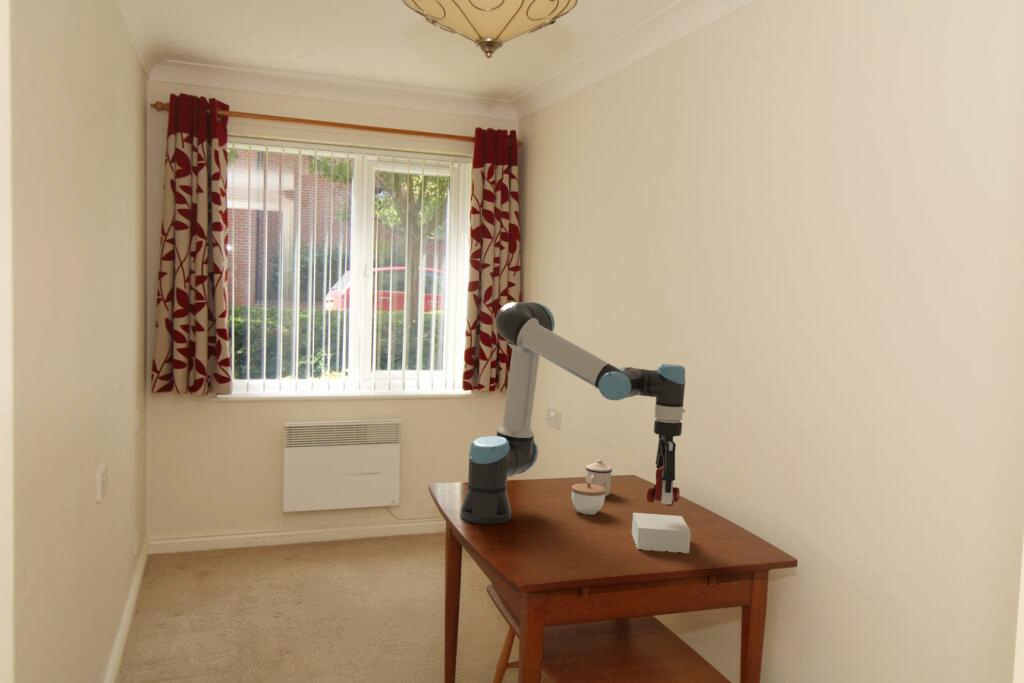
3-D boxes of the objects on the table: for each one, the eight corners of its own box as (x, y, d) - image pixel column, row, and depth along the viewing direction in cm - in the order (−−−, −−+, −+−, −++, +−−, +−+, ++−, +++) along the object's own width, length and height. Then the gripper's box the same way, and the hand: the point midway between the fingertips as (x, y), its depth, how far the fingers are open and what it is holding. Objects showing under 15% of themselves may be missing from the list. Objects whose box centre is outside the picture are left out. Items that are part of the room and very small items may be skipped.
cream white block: (637, 549, 203) (638, 527, 203) (631, 532, 217) (633, 512, 217) (689, 553, 202) (690, 531, 202) (680, 536, 216) (681, 516, 216)
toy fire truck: (680, 499, 213) (683, 463, 212) (669, 509, 202) (671, 471, 201) (657, 495, 216) (659, 459, 215) (644, 504, 205) (646, 467, 204)
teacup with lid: (589, 488, 265) (591, 455, 264) (614, 492, 261) (616, 459, 260) (576, 495, 254) (579, 461, 253) (602, 500, 250) (604, 465, 249)
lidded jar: (603, 508, 240) (605, 479, 240) (604, 518, 230) (606, 488, 229) (570, 505, 241) (572, 477, 241) (569, 515, 231) (571, 485, 230)
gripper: (689, 428, 195) (684, 510, 197) (674, 414, 219) (669, 487, 221) (661, 427, 196) (655, 508, 197) (649, 412, 219) (644, 485, 221)
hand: (663, 497), depth 209 cm, fingers closed on toy fire truck, 11 cm apart
